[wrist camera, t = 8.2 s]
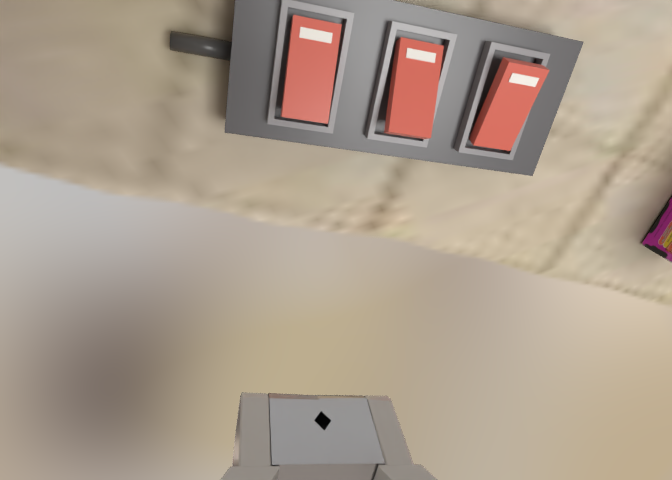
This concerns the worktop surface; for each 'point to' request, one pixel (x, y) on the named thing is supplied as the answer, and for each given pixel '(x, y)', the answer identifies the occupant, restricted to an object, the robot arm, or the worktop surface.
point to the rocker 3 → (508, 103)
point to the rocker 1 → (310, 69)
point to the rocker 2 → (413, 88)
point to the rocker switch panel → (386, 78)
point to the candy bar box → (661, 234)
